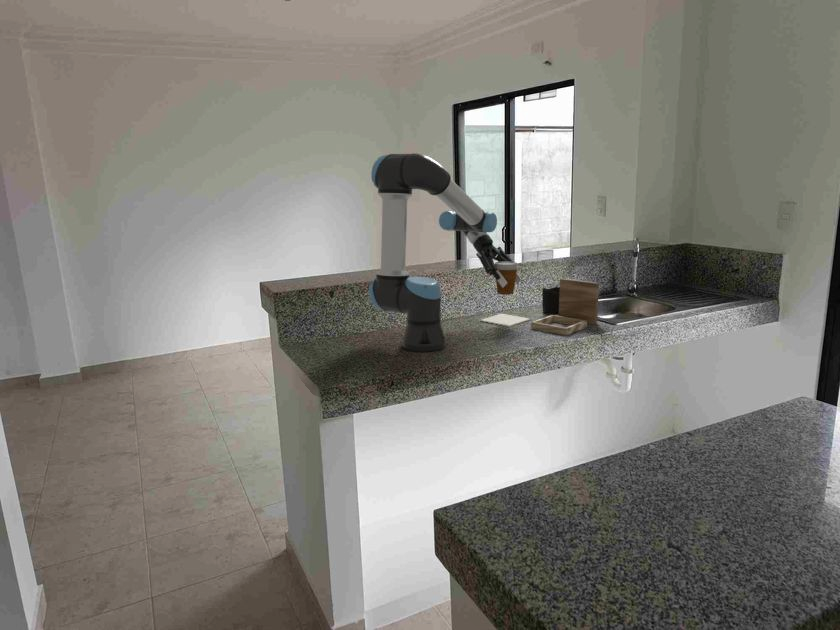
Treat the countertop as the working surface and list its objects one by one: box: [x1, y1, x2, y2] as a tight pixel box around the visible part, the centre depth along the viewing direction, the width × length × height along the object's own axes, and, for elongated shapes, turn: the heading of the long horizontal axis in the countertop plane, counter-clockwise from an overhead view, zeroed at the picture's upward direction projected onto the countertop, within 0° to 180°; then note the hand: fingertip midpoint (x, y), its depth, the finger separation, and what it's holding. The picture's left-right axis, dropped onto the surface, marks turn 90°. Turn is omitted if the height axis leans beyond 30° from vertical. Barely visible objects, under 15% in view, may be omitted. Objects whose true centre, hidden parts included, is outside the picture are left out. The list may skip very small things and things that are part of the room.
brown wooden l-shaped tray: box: [530, 278, 600, 336], centre depth 230 cm, size 22×16×16 cm
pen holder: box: [541, 286, 560, 315], centre depth 253 cm, size 9×9×10 cm
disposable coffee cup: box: [494, 261, 519, 296], centre depth 238 cm, size 10×10×12 cm
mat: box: [480, 313, 531, 328], centre depth 242 cm, size 14×14×1 cm
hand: (512, 283), depth 236 cm, fingers closed on disposable coffee cup, 9 cm apart
